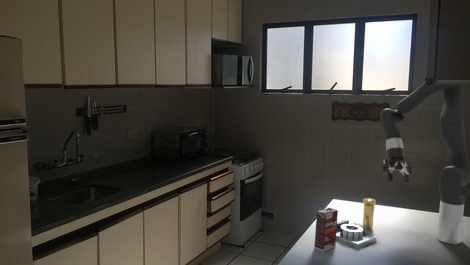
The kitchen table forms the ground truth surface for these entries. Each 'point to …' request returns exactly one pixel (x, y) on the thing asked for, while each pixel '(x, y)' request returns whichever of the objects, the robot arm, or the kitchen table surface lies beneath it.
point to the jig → (353, 234)
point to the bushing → (368, 213)
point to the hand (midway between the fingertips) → (398, 182)
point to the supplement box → (326, 229)
